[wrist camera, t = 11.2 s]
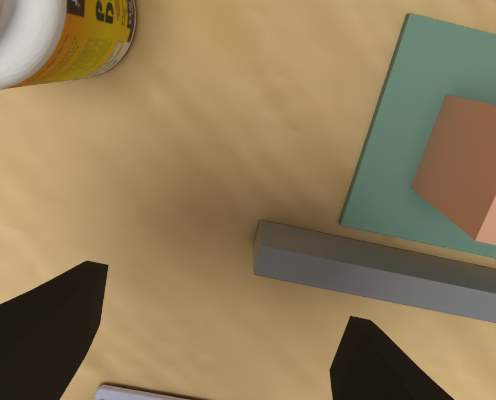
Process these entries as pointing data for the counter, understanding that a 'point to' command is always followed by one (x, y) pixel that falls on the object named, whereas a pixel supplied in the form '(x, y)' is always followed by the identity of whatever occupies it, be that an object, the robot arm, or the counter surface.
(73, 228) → the counter surface
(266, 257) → the low wall
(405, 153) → the rubber mat
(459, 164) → the terracotta block
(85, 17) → the supplement bottle
